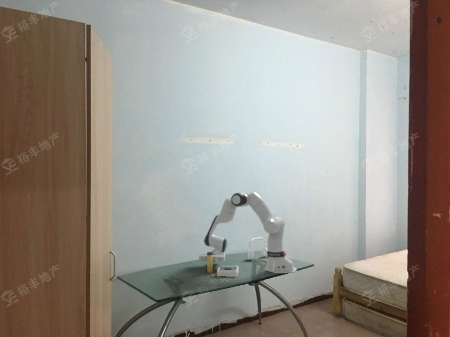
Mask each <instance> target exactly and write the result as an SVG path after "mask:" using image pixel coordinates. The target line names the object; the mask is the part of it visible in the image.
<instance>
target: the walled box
mask: <svg viewBox="0 0 450 337" xmlns="http://www.w3.org/2000/svg"><path fill="white" fill-rule="evenodd" d="M239 269H240V268H239V266H238V265H235V266H234V265H219V267H218V269H217V270H216V277H220V276H226V278H227V277H228V278H229V277H230V278H237V277H238V274H239V271H240V270H239Z"/></svg>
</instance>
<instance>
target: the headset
mask: <svg viewBox="0 0 450 337" xmlns="http://www.w3.org/2000/svg"><path fill="white" fill-rule="evenodd" d="M261 240H264V244H265V246H263V247H262V249H261V254H262V255H263V257H267V251H268V243H267V240H266V238H264V237H262V236H259V237H253V238H251V239H250V241H249V243H248V247H247V259H248V260H252V259H253V258H254V257H255V252H254V250H253V249H251V244H252V243H253V242H256V241H261Z"/></svg>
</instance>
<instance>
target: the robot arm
mask: <svg viewBox="0 0 450 337" xmlns="http://www.w3.org/2000/svg"><path fill="white" fill-rule="evenodd" d="M247 206H249V207H250V208H251V210H252V211H254V213H255V214H256V215H257V217H258V218H259V220H260V222H261V224H262V225H263V230H264V231H265V233H267V234H268V238H267V240H266V242H267V246H268V251H267V256H266V258H267V260H266V261H267V263H266V267H265V270H266V271H267V272H270V273H273V274H290V273H291V274H294V273H296V272H297V267H295V266H294V264H293V261H292V260H291V259H290V258H288V257H287V256H286V255H287V253H286V252H285V251H284V250H283V238H284V230H285V224H286V223H285V220H284V219H283V218H282V217H280V216H274V214H273V212H272V210H271V207H270V206H269V205H268V204H267V202H266V201H265V200H264V199H263V198H262V196H260V195H259V193H257V192H253V191H252V192H250V193H245V192H236V193H233V194H232V196H231V198H230V197H228V198H226V199H225V200H224V203H223V204H222V207H221V209H220V212H219V214H217V215H215V217H214V218H213V220H212V222H211V224H210V227H209V229H208V232H207V233H206V235H205V236H204V239H203V243H204V245H205V246H206V247H211V248H213V249H211V251H210V252H212V258H213V263H216V262H225V261H226V252H225V251H226V249H227V247H228V241H227V239H226V238H224V237H222V236H219V235H215V234H214V232H215V230H216V229H217V226H218V225H219V224H227V223H230V222H232V221H233V220H234V217H235V213H236V210H237V208H239V207H240V208H242V207H247ZM198 260H199V261H200V262H201V261H202V262H207V253H202V254H200V255H199V256H198Z"/></svg>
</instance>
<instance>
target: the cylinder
mask: <svg viewBox="0 0 450 337" xmlns="http://www.w3.org/2000/svg"><path fill="white" fill-rule="evenodd" d="M206 254H207V261H206V262H207V263H206V265H207V268H206V269H207V272H206V273H207V274H212V273H213V272H214V271H213V270H214V269H213V268H214V266H213V263H214V262H213V258H212V252H211V251H207V253H206Z"/></svg>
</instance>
